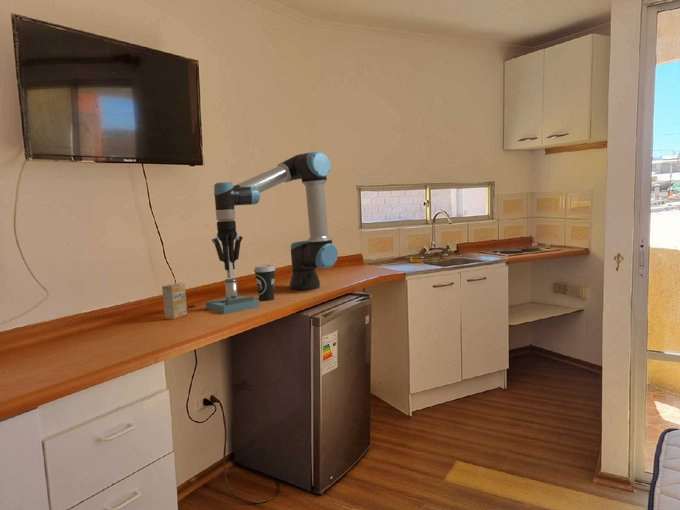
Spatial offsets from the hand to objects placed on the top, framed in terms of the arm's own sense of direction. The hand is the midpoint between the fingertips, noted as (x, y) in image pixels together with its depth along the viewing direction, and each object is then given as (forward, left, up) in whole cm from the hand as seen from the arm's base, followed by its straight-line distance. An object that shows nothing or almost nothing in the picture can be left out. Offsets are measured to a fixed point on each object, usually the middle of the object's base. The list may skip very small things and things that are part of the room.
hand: (230, 277), depth 215 cm
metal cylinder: (0, 0, -13) cm, 13 cm away
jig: (0, 0, -13) cm, 13 cm away
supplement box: (+23, -3, -13) cm, 27 cm away
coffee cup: (-19, -4, -13) cm, 23 cm away
